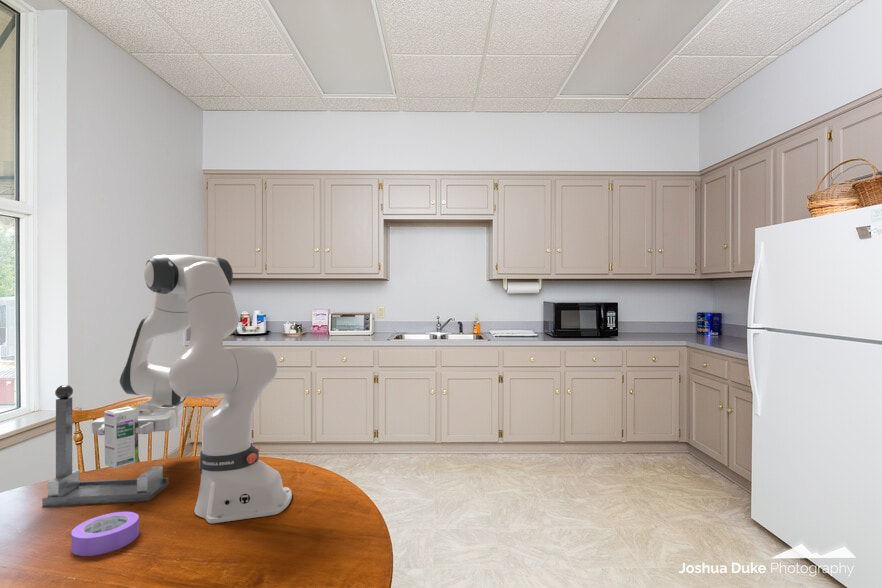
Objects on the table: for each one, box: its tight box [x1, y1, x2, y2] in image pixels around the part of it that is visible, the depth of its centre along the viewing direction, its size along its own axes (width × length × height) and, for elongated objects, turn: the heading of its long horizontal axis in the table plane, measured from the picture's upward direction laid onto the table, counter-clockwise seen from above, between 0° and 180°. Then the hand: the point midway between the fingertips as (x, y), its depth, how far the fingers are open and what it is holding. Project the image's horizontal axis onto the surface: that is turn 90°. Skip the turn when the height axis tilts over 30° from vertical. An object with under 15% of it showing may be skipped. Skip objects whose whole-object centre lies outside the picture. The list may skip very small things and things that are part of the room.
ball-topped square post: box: [47, 384, 81, 497], centre depth 119 cm, size 4×8×28 cm, turn 7°
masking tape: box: [70, 511, 140, 557], centre depth 98 cm, size 12×12×4 cm
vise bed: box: [41, 465, 169, 507], centre depth 120 cm, size 25×10×6 cm, turn 97°
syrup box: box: [103, 406, 139, 469], centre depth 121 cm, size 6×6×14 cm
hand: (119, 431), depth 121 cm, fingers closed on syrup box, 8 cm apart
